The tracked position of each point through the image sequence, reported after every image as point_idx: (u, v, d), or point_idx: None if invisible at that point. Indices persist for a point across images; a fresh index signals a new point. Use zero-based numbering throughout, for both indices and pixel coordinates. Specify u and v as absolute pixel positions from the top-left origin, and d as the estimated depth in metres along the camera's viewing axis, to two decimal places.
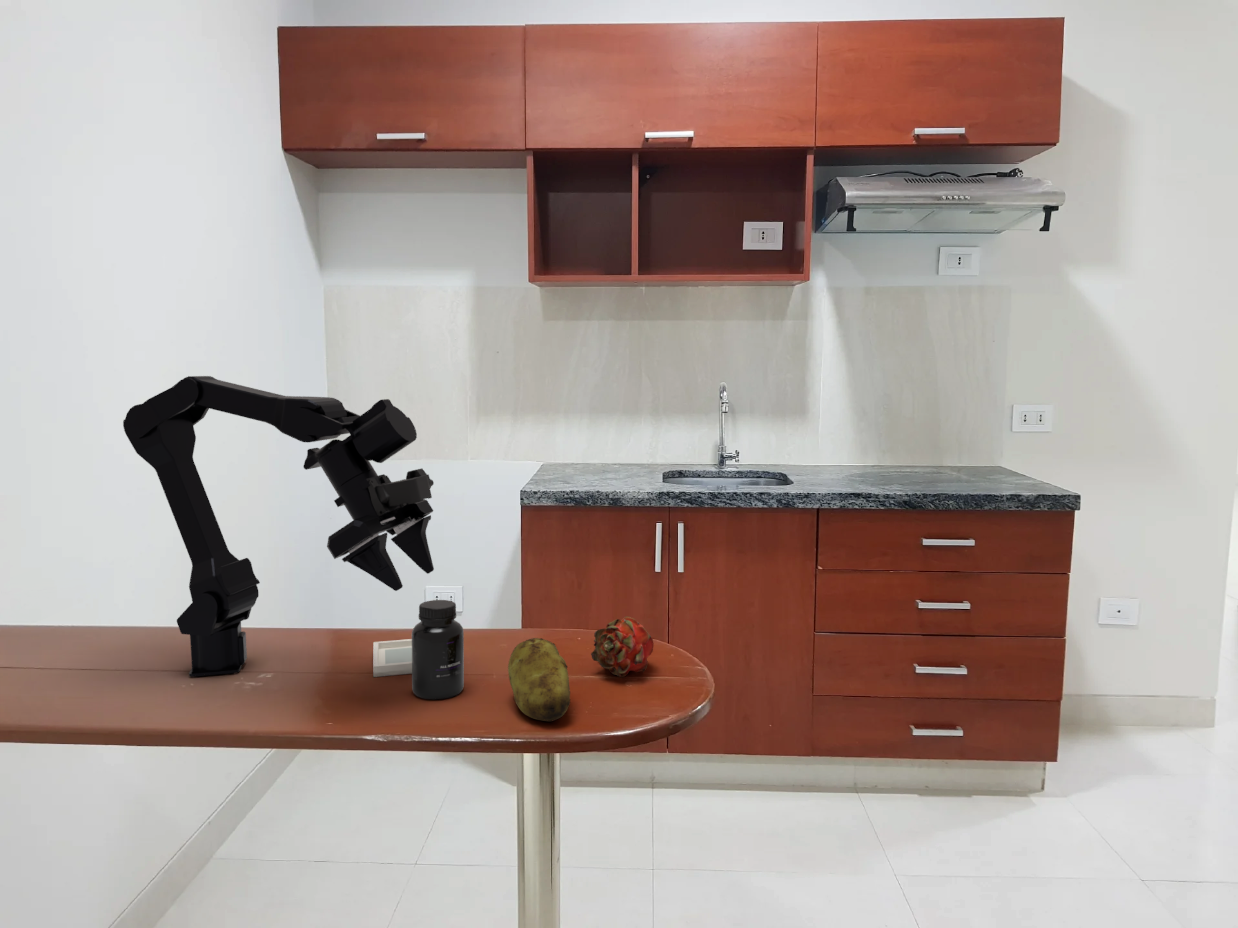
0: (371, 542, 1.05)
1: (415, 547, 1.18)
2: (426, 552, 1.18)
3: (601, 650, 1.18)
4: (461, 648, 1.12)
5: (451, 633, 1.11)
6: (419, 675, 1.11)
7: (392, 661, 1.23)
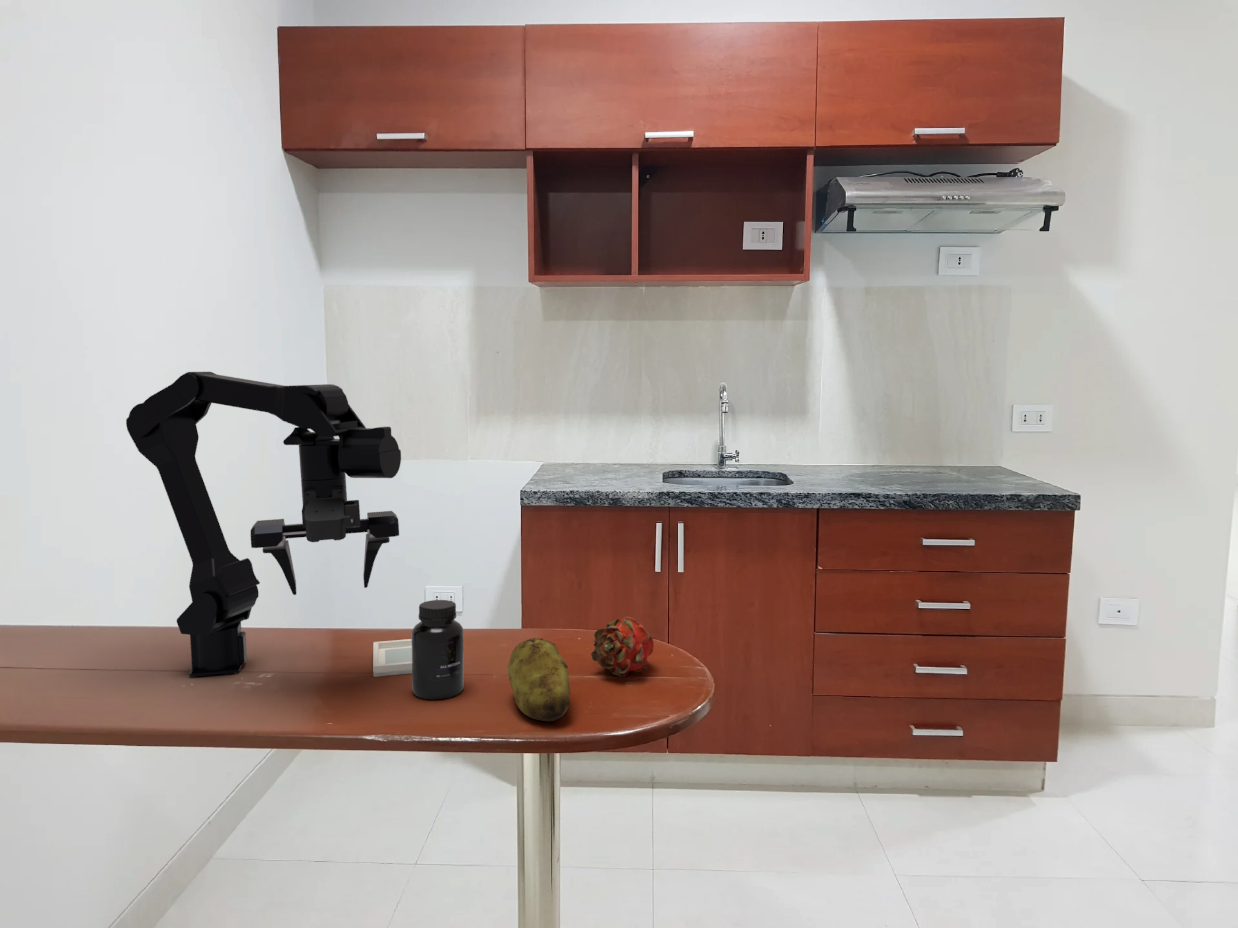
0: None
1: None
2: (365, 570, 1.16)
3: (601, 650, 1.18)
4: (461, 648, 1.12)
5: (451, 633, 1.11)
6: (419, 675, 1.11)
7: (392, 661, 1.23)
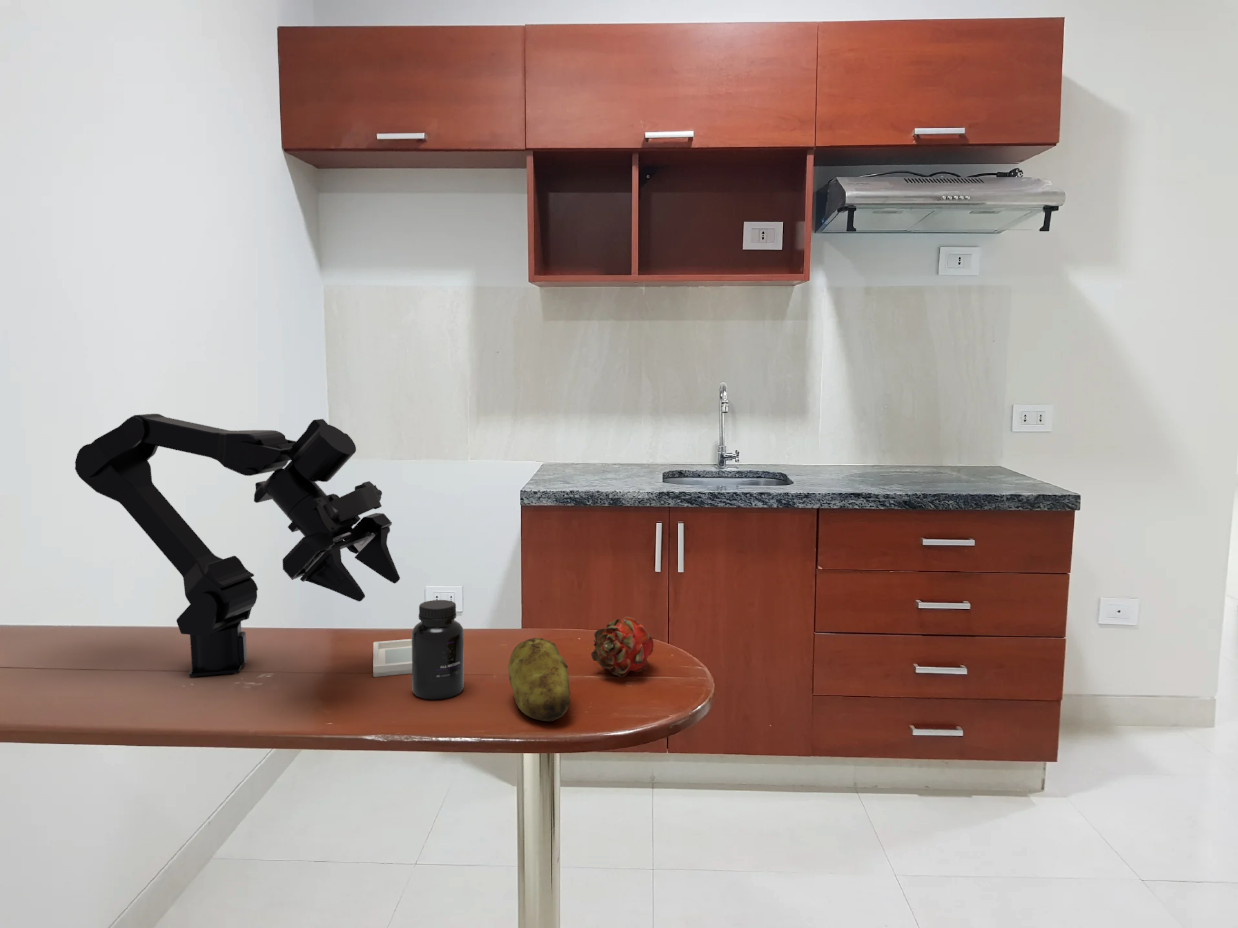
0: (324, 556, 1.06)
1: (378, 560, 1.19)
2: (389, 563, 1.19)
3: (601, 650, 1.18)
4: (461, 648, 1.12)
5: (451, 633, 1.11)
6: (419, 675, 1.11)
7: (392, 661, 1.23)
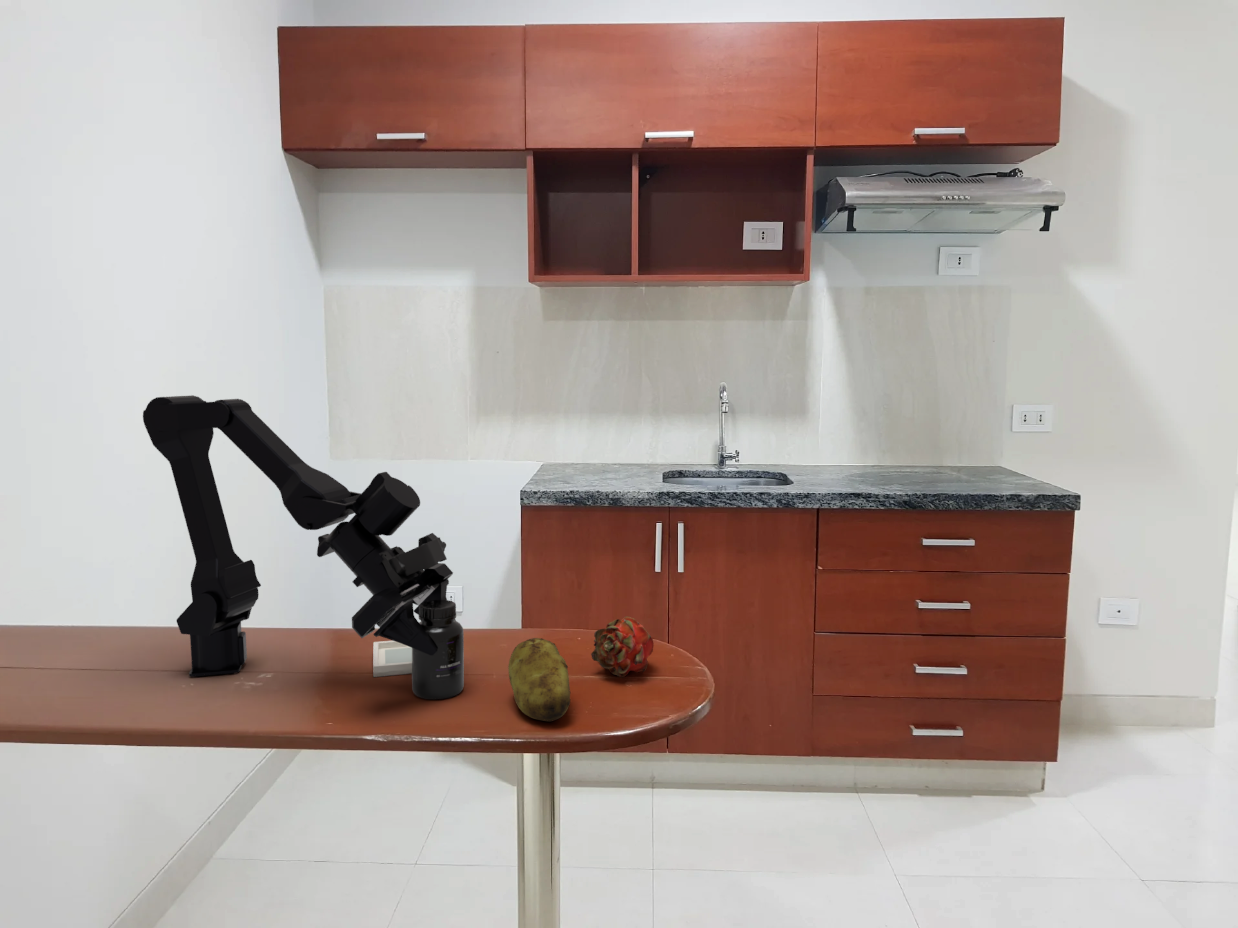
0: (398, 612, 1.06)
1: None
2: None
3: (601, 650, 1.18)
4: (461, 648, 1.12)
5: (451, 633, 1.11)
6: (419, 675, 1.11)
7: (392, 661, 1.23)
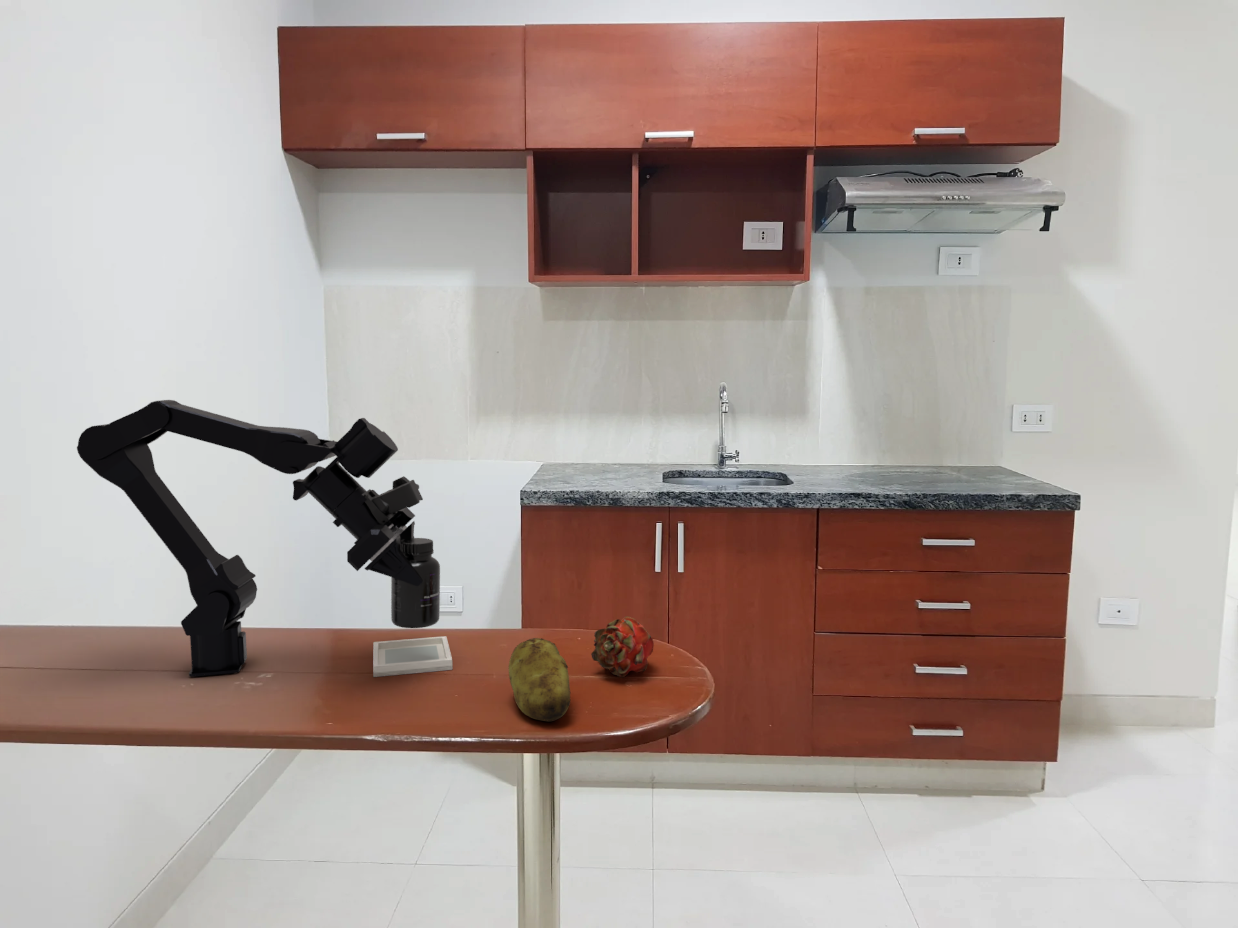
0: (391, 545, 1.14)
1: None
2: None
3: (601, 650, 1.18)
4: (439, 580, 1.22)
5: (433, 566, 1.20)
6: (403, 606, 1.19)
7: (392, 661, 1.23)
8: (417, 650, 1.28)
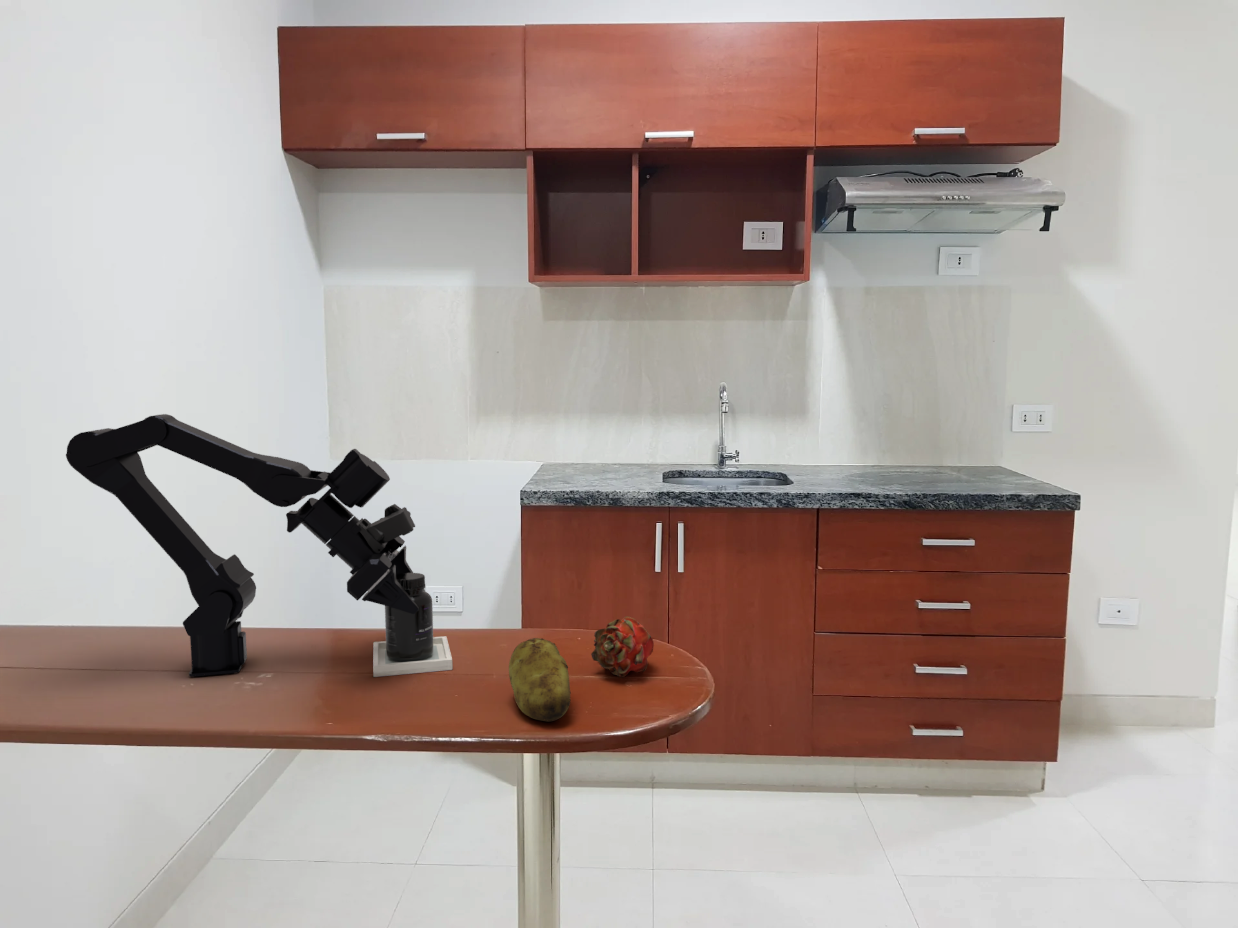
0: (388, 575, 1.16)
1: None
2: None
3: (601, 650, 1.18)
4: (432, 613, 1.25)
5: (426, 600, 1.23)
6: (398, 641, 1.22)
7: (392, 661, 1.23)
8: None
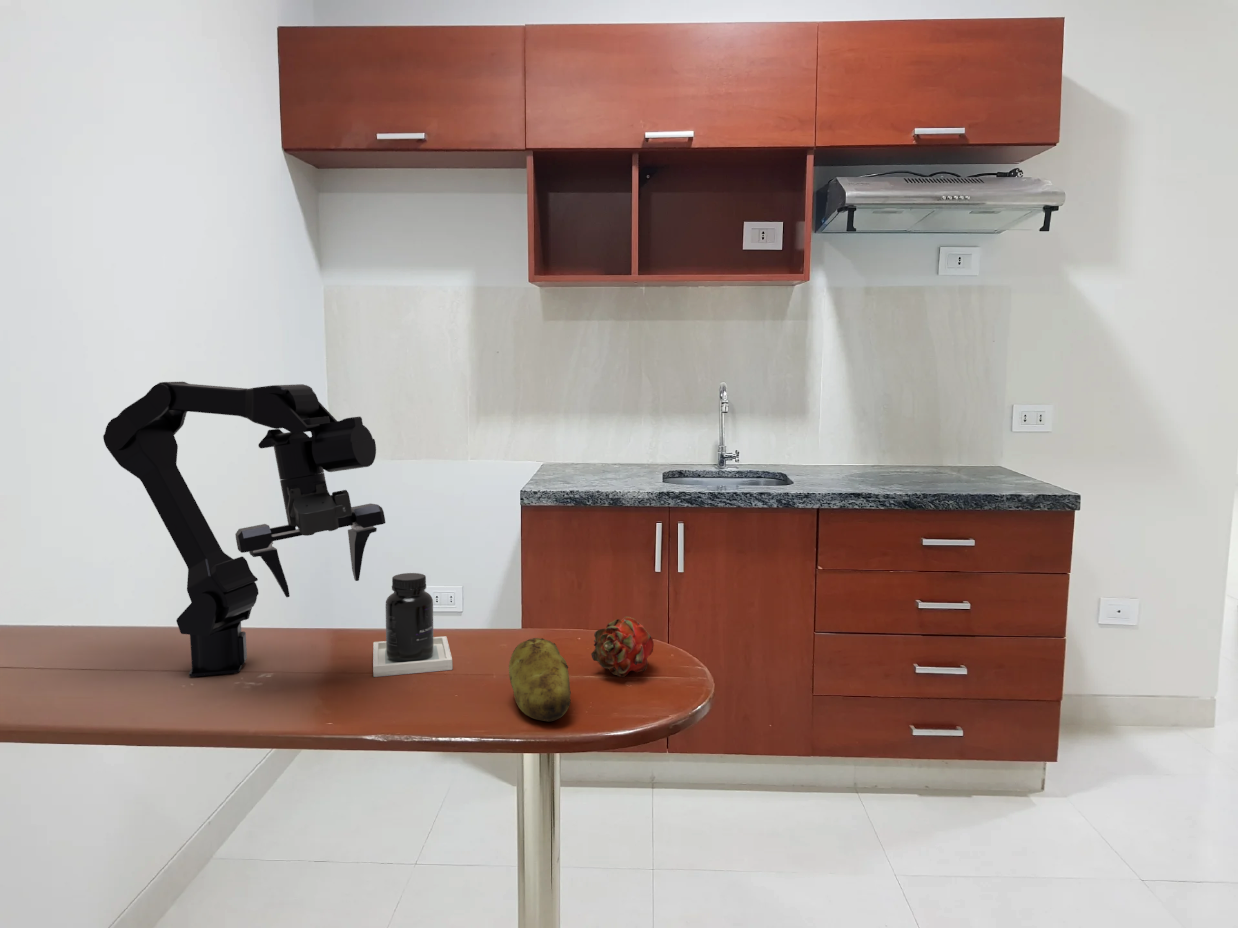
0: (253, 555, 1.10)
1: (352, 552, 1.18)
2: (355, 562, 1.17)
3: (601, 650, 1.18)
4: (432, 614, 1.25)
5: (427, 600, 1.23)
6: (399, 641, 1.22)
7: (392, 661, 1.23)
8: None
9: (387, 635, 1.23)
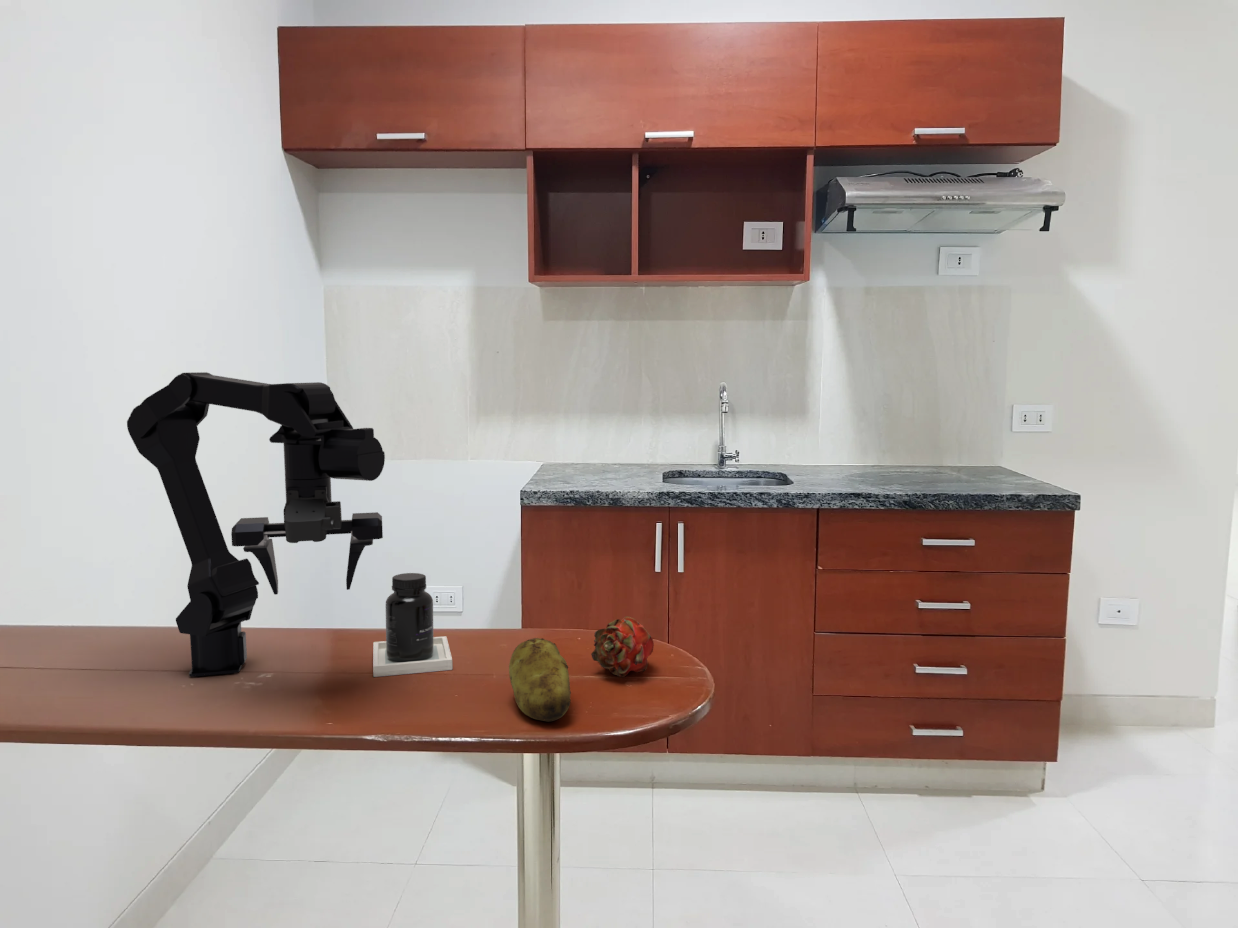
0: None
1: None
2: (347, 571, 1.15)
3: (601, 650, 1.18)
4: (432, 614, 1.25)
5: (427, 600, 1.23)
6: (399, 641, 1.22)
7: (392, 661, 1.23)
8: None
9: (387, 635, 1.23)
